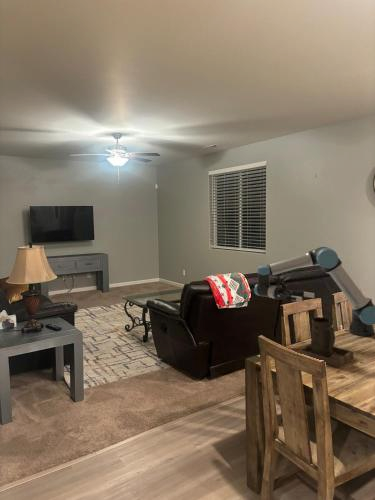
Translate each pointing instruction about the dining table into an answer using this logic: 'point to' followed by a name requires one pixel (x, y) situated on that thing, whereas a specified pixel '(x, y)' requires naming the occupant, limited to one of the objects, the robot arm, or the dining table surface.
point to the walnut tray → (334, 360)
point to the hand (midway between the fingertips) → (308, 297)
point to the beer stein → (322, 337)
